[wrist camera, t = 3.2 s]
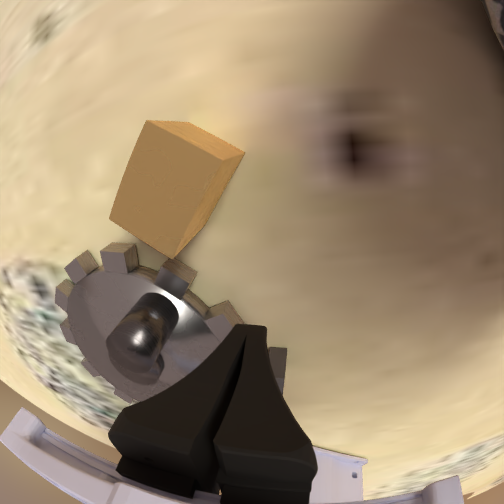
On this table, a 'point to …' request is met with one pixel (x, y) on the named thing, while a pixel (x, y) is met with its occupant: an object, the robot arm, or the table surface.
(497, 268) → the table surface
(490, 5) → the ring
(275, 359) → the block
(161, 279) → the sprocket
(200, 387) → the robot arm
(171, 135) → the link block
